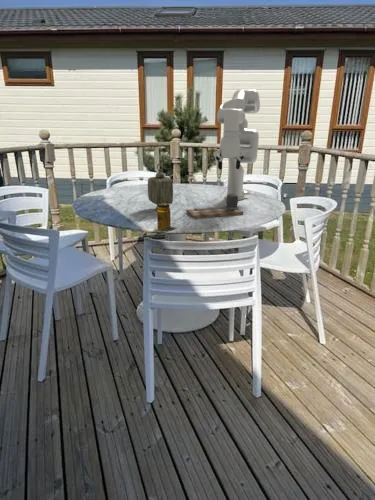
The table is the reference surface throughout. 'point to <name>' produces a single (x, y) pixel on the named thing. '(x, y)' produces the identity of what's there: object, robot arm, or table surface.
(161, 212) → the condiment
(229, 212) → the fader board
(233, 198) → the fader slider
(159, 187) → the tabletop clock
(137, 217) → the table surface
